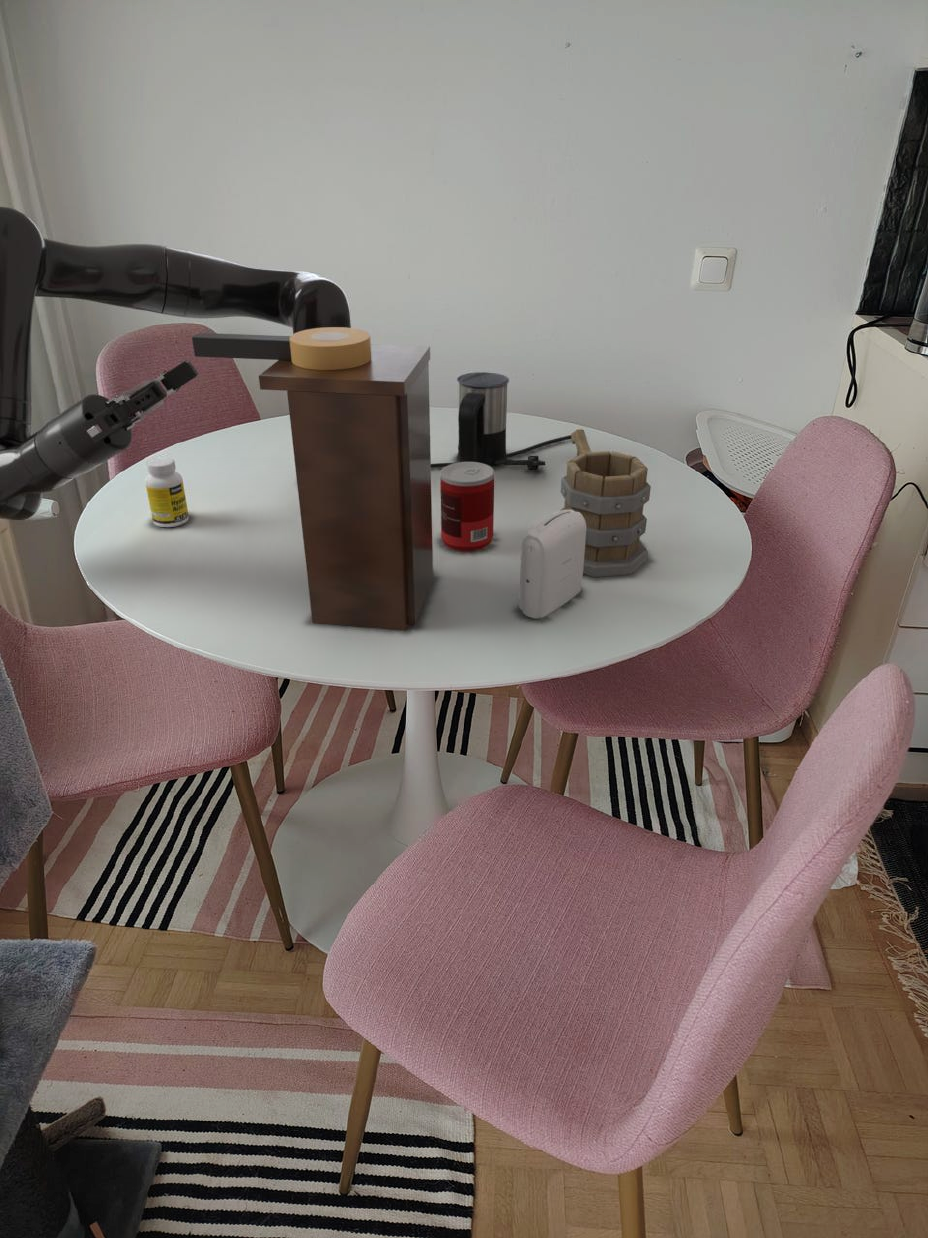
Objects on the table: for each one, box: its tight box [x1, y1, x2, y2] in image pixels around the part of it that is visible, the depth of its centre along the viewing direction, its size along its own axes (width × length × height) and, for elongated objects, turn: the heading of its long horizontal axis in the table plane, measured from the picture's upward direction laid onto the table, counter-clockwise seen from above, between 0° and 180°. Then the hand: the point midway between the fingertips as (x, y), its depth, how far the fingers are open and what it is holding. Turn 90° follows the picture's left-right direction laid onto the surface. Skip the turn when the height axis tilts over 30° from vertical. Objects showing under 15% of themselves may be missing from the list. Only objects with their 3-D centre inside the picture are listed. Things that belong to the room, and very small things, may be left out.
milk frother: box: [456, 371, 547, 471], centre depth 149 cm, size 14×16×15 cm
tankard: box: [559, 428, 652, 578], centre depth 122 cm, size 20×13×15 cm, turn 9°
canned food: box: [439, 461, 495, 553], centre depth 124 cm, size 8×8×11 cm
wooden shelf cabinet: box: [258, 343, 434, 631], centre depth 105 cm, size 16×15×31 cm
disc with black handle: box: [191, 327, 372, 370], centre depth 97 cm, size 20×9×3 cm, turn 81°
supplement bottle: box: [144, 456, 190, 528], centre depth 131 cm, size 5×5×10 cm
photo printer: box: [518, 509, 586, 620], centre depth 109 cm, size 10×4×12 cm, turn 140°
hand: (177, 377), depth 101 cm, fingers open, 8 cm apart
